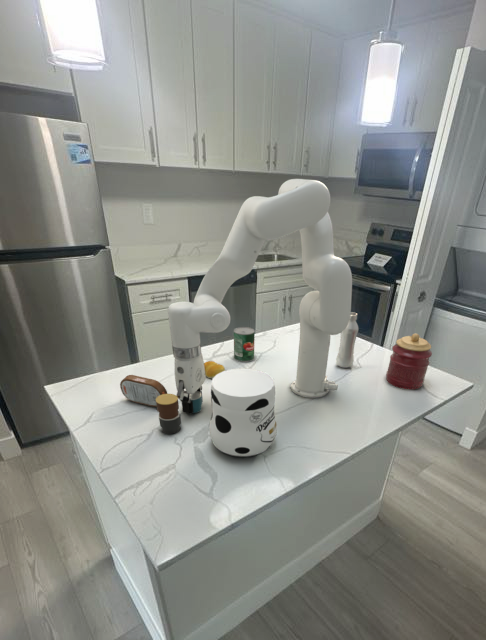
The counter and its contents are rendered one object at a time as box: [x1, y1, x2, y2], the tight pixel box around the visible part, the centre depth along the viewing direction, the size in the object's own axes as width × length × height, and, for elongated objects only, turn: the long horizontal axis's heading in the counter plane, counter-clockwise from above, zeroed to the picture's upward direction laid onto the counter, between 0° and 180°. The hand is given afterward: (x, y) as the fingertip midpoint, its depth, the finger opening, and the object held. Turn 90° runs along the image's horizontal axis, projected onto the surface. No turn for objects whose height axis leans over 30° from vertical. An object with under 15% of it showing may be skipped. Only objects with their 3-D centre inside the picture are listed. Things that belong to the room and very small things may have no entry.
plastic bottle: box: [335, 311, 360, 369], centre depth 137 cm, size 6×7×20 cm
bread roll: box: [204, 360, 226, 379], centre depth 131 cm, size 8×9×4 cm
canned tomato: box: [233, 326, 256, 363], centre depth 142 cm, size 8×8×11 cm
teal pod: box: [184, 391, 203, 414], centre depth 110 cm, size 6×6×5 cm
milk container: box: [209, 367, 278, 458], centre depth 94 cm, size 17×17×18 cm
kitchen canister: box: [385, 333, 433, 390], centre depth 128 cm, size 13×13×18 cm
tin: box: [119, 374, 169, 408], centre depth 111 cm, size 15×3×8 cm, turn 71°
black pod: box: [158, 410, 182, 435], centre depth 101 cm, size 6×6×5 cm
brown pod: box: [156, 393, 180, 419], centre depth 99 cm, size 6×6×5 cm
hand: (193, 406), depth 111 cm, fingers closed on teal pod, 5 cm apart
